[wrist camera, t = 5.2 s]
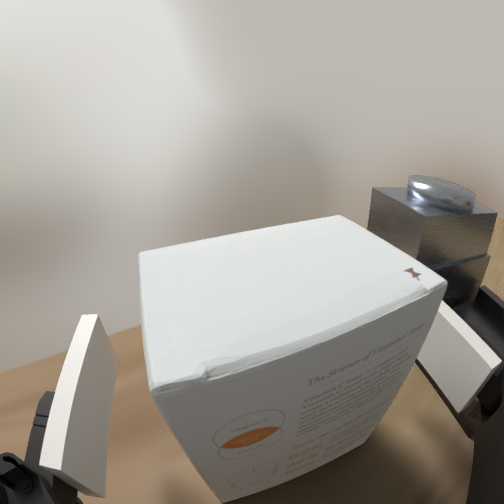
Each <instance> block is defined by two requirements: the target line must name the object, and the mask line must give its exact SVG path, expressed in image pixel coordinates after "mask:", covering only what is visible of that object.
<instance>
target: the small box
mask: <svg viewBox="0 0 504 504" xmlns="http://www.w3.org/2000/svg"><path fill="white" fill-rule="evenodd" d="M138 285H139V286H138V287H139V303H140V317H141V329H142V339H143V348H144V356H145V363H146V370H147V377H148V384H149V390H150V393H151V396H152V398H153V399H154V401H155V403H156V405H157V407H158V409H159V411H160V412H161V414H162V416H163V417H164V419H165V421H166V422H167V424H168V426H169V428H170V429H171V431H172V433H173V434H174V436H175V438H176V439H177V441H178V442H179V444H180V445H181V447H182V449H183V450H184V452H185V453H186V455H187V456H188V458H189V460H190V461H191V463H192V464H193V466H194V467H195V469H196V470H197V472H198V473H199V474H200V476H201V477H202V479H203V480H204V481H205V483H206V484H207V485H208V486H209V488H210V489H211V490H212V492H213V493H214V494H215V496H216V497H217V498H218V499H219V501H220V502H222V503H225V502H228V501H231V500H235V499H238V498H242V497H245V496H248V495H251V494H254V493H257V492H260V491H263V490H266V489H268V488H271V487H274V486H276V485H279V484H282V483H284V482H287V481H289V480H291V479H294V478H296V477H298V476H301V475H303V474H305V473H307V472H310V471H312V470H314V469H316V468H318V467H320V466H322V465H324V464H326V463H328V462H330V461H332V460H334V459H336V458H338V457H340V456H341V455H343V454H345V453H347V452H349V451H350V450H352V449H354V448H356V447H358V446H359V445H361V444H363V443H364V442H365V441H366V440H367V439H368V437H369V436H370V434H371V433H372V432H373V430H374V429H375V427H376V426H377V425H378V423H379V422H380V420H381V419H382V417H383V416H384V414H385V412H386V411H387V409H388V408H389V406H390V405H391V403H392V401H393V400H394V398H395V397H396V395H397V393H398V392H399V390H400V388H401V386H402V385H403V383H404V381H405V379H406V377H407V376H408V374H409V372H410V370H411V368H412V366H413V364H414V362H415V360H416V358H417V356H418V354H419V352H420V350H421V348H422V346H423V343H424V341H425V339H426V337H427V335H428V333H429V331H430V328H431V326H432V324H433V321H434V319H435V317H436V314H437V312H438V309H439V307H440V304H441V301H442V299H443V296H444V294H445V292H446V289H447V286H448V283H447V281H446V280H445V279H444V278H442V277H441V276H439V275H438V274H436V273H435V272H434V271H432V270H431V269H429V268H427V267H426V266H425V265H423V264H422V263H420V262H419V261H417V260H415V259H414V258H412V257H411V256H409V255H408V254H406V253H404V252H403V251H401V250H399V249H398V248H396V247H394V246H393V245H391V244H390V243H388V242H386V241H385V240H383V239H381V238H380V237H378V236H376V235H374V234H373V233H371V232H369V231H368V230H366V229H364V228H363V227H361V226H359V225H357V224H356V223H354V222H352V221H350V220H348V219H346V218H344V217H343V216H340V215H336V216H331V217H325V218H320V219H314V220H308V221H302V222H296V223H290V224H284V225H279V226H273V227H268V228H263V229H257V230H252V231H246V232H241V233H235V234H230V235H225V236H220V237H215V238H210V239H204V240H199V241H193V242H189V243H184V244H180V245H174V246H169V247H164V248H159V249H154V250H149V251H143V252H140V253H139V255H138Z"/></svg>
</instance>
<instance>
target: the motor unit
mask: <svg viewBox="0 0 504 504" xmlns="http://www.w3.org/2000/svg"><path fill="white" fill-rule="evenodd" d="M475 198H476V194H475V193H474V192H473V191H471V190H469V189H468V188H465V187H463V186H461V185H459V184H456V183H453V182H450V181H447V180H443V179H439V178H434V177H429V176H420V175H412V176H409V179H408V187H407V188H388V187H387V188H386V187H383V188H381V187H380V188H378V187H376V188H375V187H374V188H372V196H371V204H370V212H369V220H368V227H367V230H368V231H369V232H371V233H373V234H374V235H376V236H378V237H380V238H381V239H383V240H385V241H386V242H388V243H390V244H391V245H393V246H394V247H396V248H398V249H399V250H401V251H403V252H404V253H406V254H408V255H409V256H411V257H412V258H414V259H415V260H417V261H419V262H420V263H422V264H423V265H425V266H426V267H427V268H429V269H431V270H432V271H434V272H435V273H436V274H438V275H439V276H441V277H442V278H444V279H445V280H446V281H447V283H448V286H447V289H446V292H445V294H444V296H443V299H442V300H443V301H444V302H445V303H446V304H447V305H448V306H449V307H450V308H451V309H452V310H453V311H454V312H455V313H456V314H457V315H458V316H459V317H460V318H461V319H462V318H463V319H464V320H466V321H468V322H469V323H471V324H472V325H473V326H474V327H475V328H476V329H477V330H478V331H479V333H481V334H482V335H483V336H484V338H485V339H487V340H488V341H489V342H490V343H491V344H492V345H493V346H494V347H495V348H496V349H497V351H498V352H499V353H500V354H501V355H502V356H503V357H504V302H503V301H502V300H501V299H500V298H499V297H498V296H497V295H495V294H494V293H493V292H492V291H491V290H490V289H488V288H487V287H486V286H482V287H480V285H481V282H482V280H483V277H484V274H485V271H486V269H487V266H488V263H489V260H490V257H491V256H490V255H489V254H487V250H488V247H489V244H490V240H491V237H492V233H493V229H494V225H495V221H496V217H497V212H495V211H493V210H491V209H489V208H488V207H486V206H484V205H482V204H480V203H478V202H476V201H475ZM475 297H476V298H475ZM415 362H416V364H417V365H418V366H419V368H420V369H421V370H422V372H423V373H424V374H425V376H426V377H427V379H428V380H429V381H430V383H431V384H432V385H433V387H434V388H435V389H436V391H437V392H438V394H439V395H440V396H441V398H442V399H443V401H444V402H445V404H446V405H447V406H448V408H449V409H450V411H451V412H452V414H453V415H454V417H455V418H456V419H457V421H458V422H459V424H460V425H461V427H462V428H463V430H464V431H465V433H466V434H467V436H468V438H469V437H470V436H471V435H472V434H474V433H475V420H476V418H473V417H472V415H473V414H474V413H475V411H476V410H475V411H474V412H473V413H472V414H471V415H470V416H469V417H467V414H468V412H469V410H470V409H471V408H472V407H473V406H474V404H475V403H476V402H477V401H478V400H479V399H478V398H477V397H476V398H475V399H474V400H473V401H472V403H471V404H470V405H469V406H468V407H466V408H465V409H464V410H462V411H461V412H459V413H458V412H457V411H456V410H455V408H454V407H453V405H452V404H451V403H450V401H449V400H448V398H447V397H446V396H445V394H444V393H443V392H442V390H441V389H440V388H439V386H438V385H437V384H436V382H435V381H434V380H433V378H432V377H431V376H430V374H429V373H428V372H427V370H426V369H425V368H424V366H423V365H422V364H421V363H420V361H419V360H418V359H417V358H416V360H415Z"/></svg>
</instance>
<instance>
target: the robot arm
mask: <svg viewBox="0 0 504 504" xmlns="http://www.w3.org/2000/svg"><path fill="white" fill-rule="evenodd" d="M417 359H418V360H419V361H420V363H421V364H422V365H423V366H424V368H425V369H426V370H427V372H428V373H429V374H430V376H431V377H432V378H433V380H434V381H435V382H436V384H437V385H438V386H439V388H440V389H441V390H442V392H443V393H444V394H445V396H446V397H447V398H448V400H449V401H450V403H451V404H452V405H453V407H454V408H455V410H456V411H457V412H458V413H459V412H461V411H462V410H464V409H465V408H466V407H468V406H469V405H470V404H471V403H472V401H473V400H474V399H475V398H476V397H477V398H478V399H479V400H478V401H477V402H476V403H475V404H474V406H473V407H472V408H471V409H470V410H469V412H468V414H467V417H469V416H470V415H471V414H472V413H473V412H474V411H475V410H476V411H475V413H474V414H473V415H472V417H473V418H476V420H475V443H474V455H473V465H472V472H471V479H470V486H469V491H468V497H467V502H466V504H504V357H503V356H502V355H501V354H500V353H499V352H498V351H497V349H496V348H495V347H494V346H493V345H492V344H491V343H490V342H489V341H488V340H487V339H485V338H484V336H483V335H482V334H481V333H479V331H478V330H477V329H476V328H475V327H474V326H473V325H472V324H471V323H469V322H468V321H466V320H464V319H463V318H462V319H461V318H460V317H459V316H458V315H457V314H456V313H455V312H454V311H453V310H452V309H451V308H450V307H449V306H448V305H447V304H446V303H445V302H444V301H443V300H442V301H441V304H440V307H439V309H438V312H437V314H436V317H435V319H434V321H433V324H432V326H431V328H430V331H429V333H428V335H427V337H426V339H425V341H424V343H423V346H422V348H421V350H420V352H419V354H418V356H417ZM118 362H119V361H118V358H117V356H116V354H115V352H114V350H113V348H112V346H111V343H110V341H109V339H108V337H107V334H106V332H105V330H104V327H103V325H102V323H101V321H100V318H99V315H98V314H94V315H82V317H81V319H80V322H79V324H78V327H77V329H76V332H75V334H74V337H73V340H72V342H71V345H70V348H69V351H68V354H67V357H66V359H65V362H64V365H63V369H62V372H61V375H60V378H59V381H58V385H57V388H56V391H55V392H49V391H46V392H45V394H44V395H43V397H42V398H41V399H40V401H39V403H38V406H37V410H36V416H35V417H34V421H33V426H32V429H31V433H30V437H29V442H28V447H27V451H26V457H25V461H24V462H23V461H22V460H21V459H19V458H18V457H17V456H15V455H14V454H13V453H7V452H6V453H3V454H1V455H0V504H83V503H82V501H81V500H80V499H79V498H78V497H77V491H80V492H81V493H83V494H85V495H88V496H94V497H100V498H105V488H106V462H107V447H108V435H109V425H110V416H111V407H112V400H113V393H114V386H115V379H116V373H117V367H118Z"/></svg>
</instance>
